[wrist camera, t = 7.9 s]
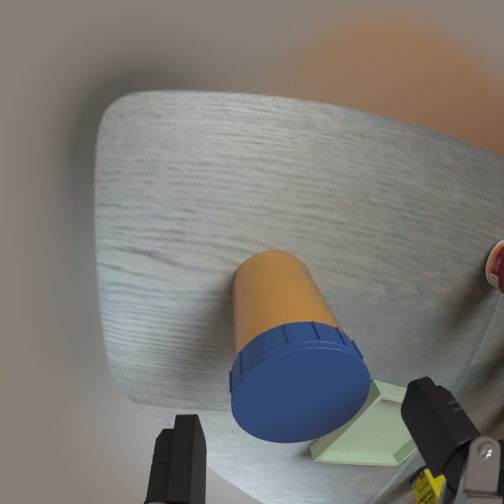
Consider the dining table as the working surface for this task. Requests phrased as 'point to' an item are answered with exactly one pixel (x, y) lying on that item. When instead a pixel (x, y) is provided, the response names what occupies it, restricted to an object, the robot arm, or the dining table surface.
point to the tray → (370, 432)
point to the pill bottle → (496, 266)
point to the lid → (297, 382)
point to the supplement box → (427, 487)
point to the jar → (275, 297)
